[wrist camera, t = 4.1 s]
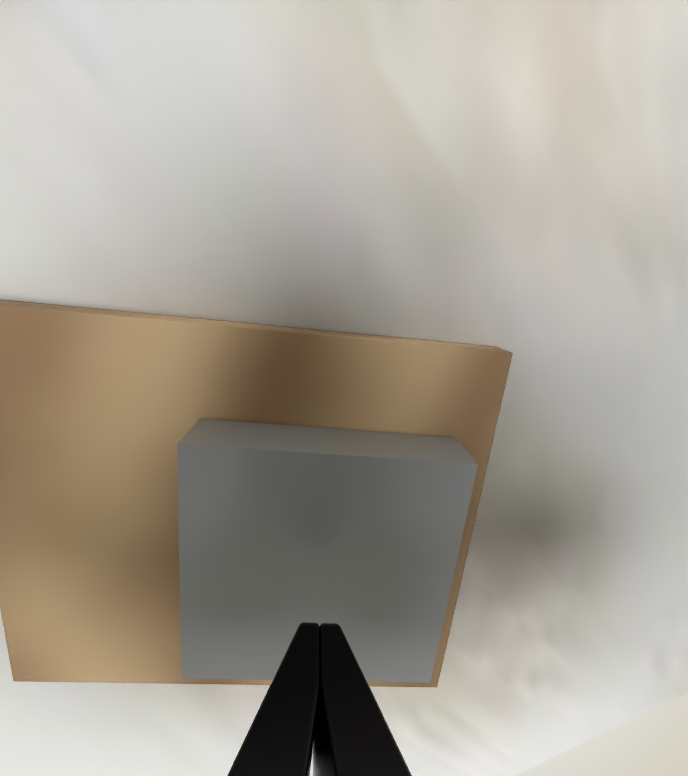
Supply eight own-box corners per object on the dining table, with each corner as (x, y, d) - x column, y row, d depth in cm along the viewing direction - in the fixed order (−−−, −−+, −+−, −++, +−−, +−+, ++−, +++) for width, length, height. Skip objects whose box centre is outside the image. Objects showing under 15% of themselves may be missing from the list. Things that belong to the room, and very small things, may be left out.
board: (495, 346, 11) (512, 352, 10) (429, 659, 14) (437, 686, 13) (-19, 298, 10) (-56, 299, 9) (36, 651, 13) (13, 681, 12)
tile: (200, 417, 10) (454, 436, 11) (200, 624, 12) (416, 630, 12) (176, 443, 8) (477, 463, 9) (181, 678, 10) (430, 682, 11)
